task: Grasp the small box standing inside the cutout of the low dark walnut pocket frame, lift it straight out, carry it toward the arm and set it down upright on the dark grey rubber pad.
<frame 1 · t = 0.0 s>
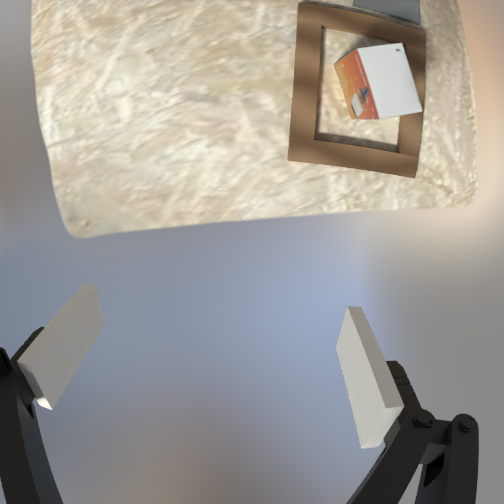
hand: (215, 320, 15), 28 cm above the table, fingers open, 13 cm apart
small box: (360, 88, 35), resting in pocket board
pocket board: (361, 88, 35), on the table
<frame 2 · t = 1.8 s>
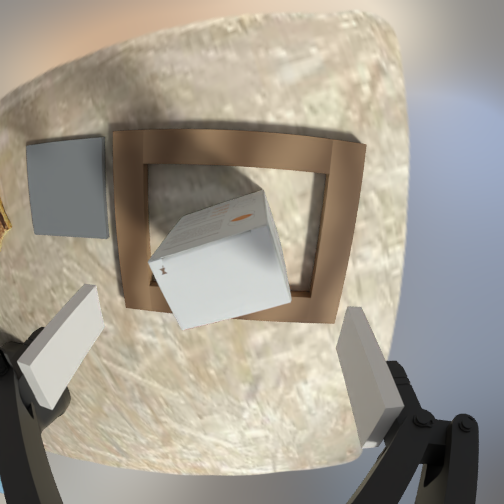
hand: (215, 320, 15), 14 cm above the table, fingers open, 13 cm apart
small box: (232, 228, 29), resting in pocket board
pocket board: (232, 229, 29), on the table
pad: (65, 188, 27), on the table
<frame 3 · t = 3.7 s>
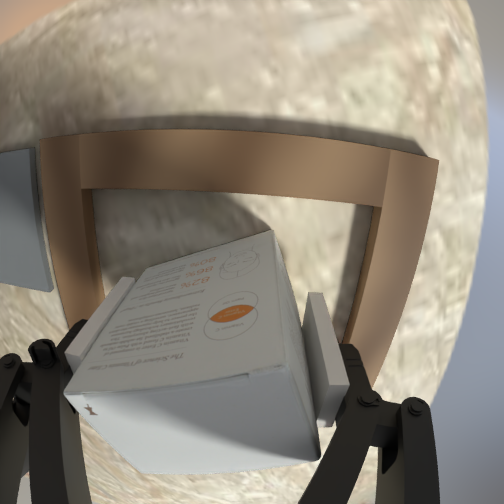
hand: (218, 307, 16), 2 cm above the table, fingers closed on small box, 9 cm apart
small box: (223, 286, 18), resting in pocket board, touching gripper
pocket board: (223, 288, 18), on the table
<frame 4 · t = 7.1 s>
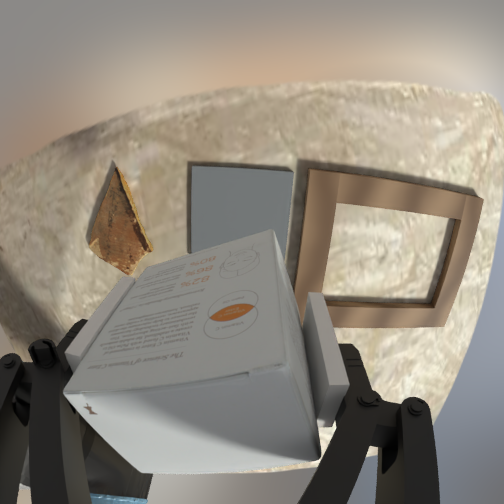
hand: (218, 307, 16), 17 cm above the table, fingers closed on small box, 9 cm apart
small box: (223, 286, 18), point 15 cm above the table, touching gripper
shard: (115, 224, 34), on the table
pocket board: (391, 258, 33), on the table
pad: (240, 215, 32), on the table
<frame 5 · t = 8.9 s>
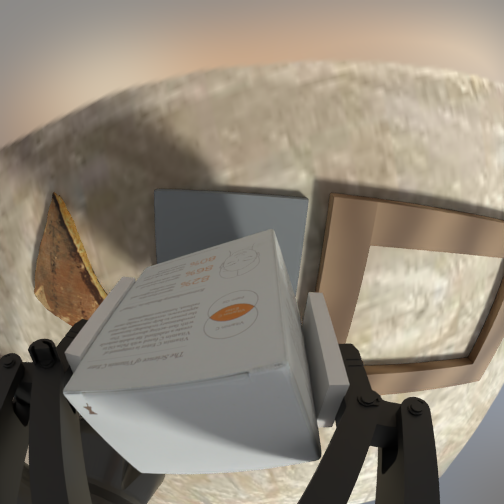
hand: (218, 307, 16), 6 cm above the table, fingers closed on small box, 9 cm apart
small box: (223, 286, 18), point 4 cm above the table, touching gripper
shard: (63, 266, 23), on the table
pocket board: (431, 311, 23), on the table
pad: (227, 262, 22), on the table
when the fingers open (3 cm above the table, at t = 10.4 s): small box stays where it is, resting on pad.
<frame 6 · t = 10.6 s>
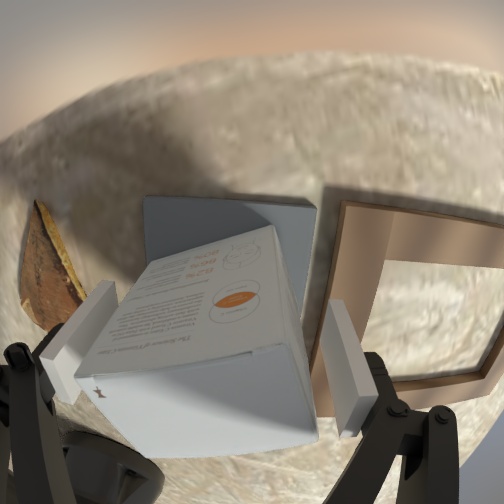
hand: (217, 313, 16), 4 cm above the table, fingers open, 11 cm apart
small box: (225, 279, 19), resting on pad
shard: (49, 277, 21), on the table
pocket board: (445, 327, 21), on the table
pad: (225, 277, 20), on the table
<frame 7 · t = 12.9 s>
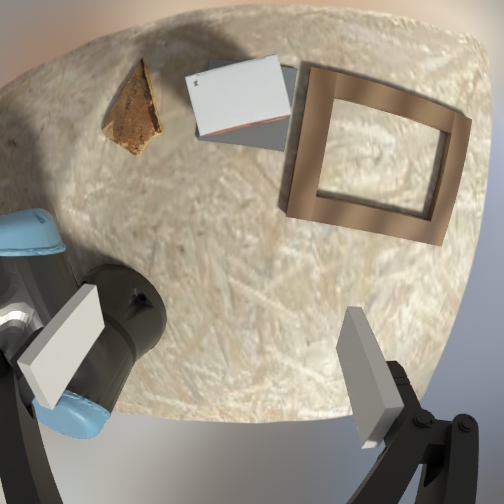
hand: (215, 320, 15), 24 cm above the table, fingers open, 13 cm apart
small box: (247, 103, 32), resting on pad
shard: (130, 111, 34), on the table
pocket board: (385, 160, 34), on the table
pad: (247, 103, 33), on the table
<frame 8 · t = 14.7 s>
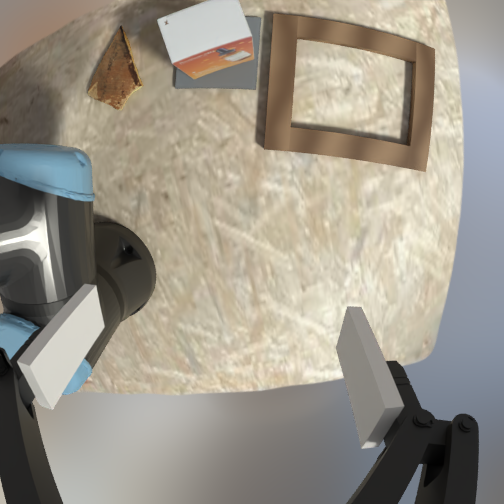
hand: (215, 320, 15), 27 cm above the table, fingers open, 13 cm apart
small box: (217, 50, 32), resting on pad
shard: (113, 74, 34), on the table
pocket board: (355, 90, 34), on the table
pad: (218, 51, 32), on the table
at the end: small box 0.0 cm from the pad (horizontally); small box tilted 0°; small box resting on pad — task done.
